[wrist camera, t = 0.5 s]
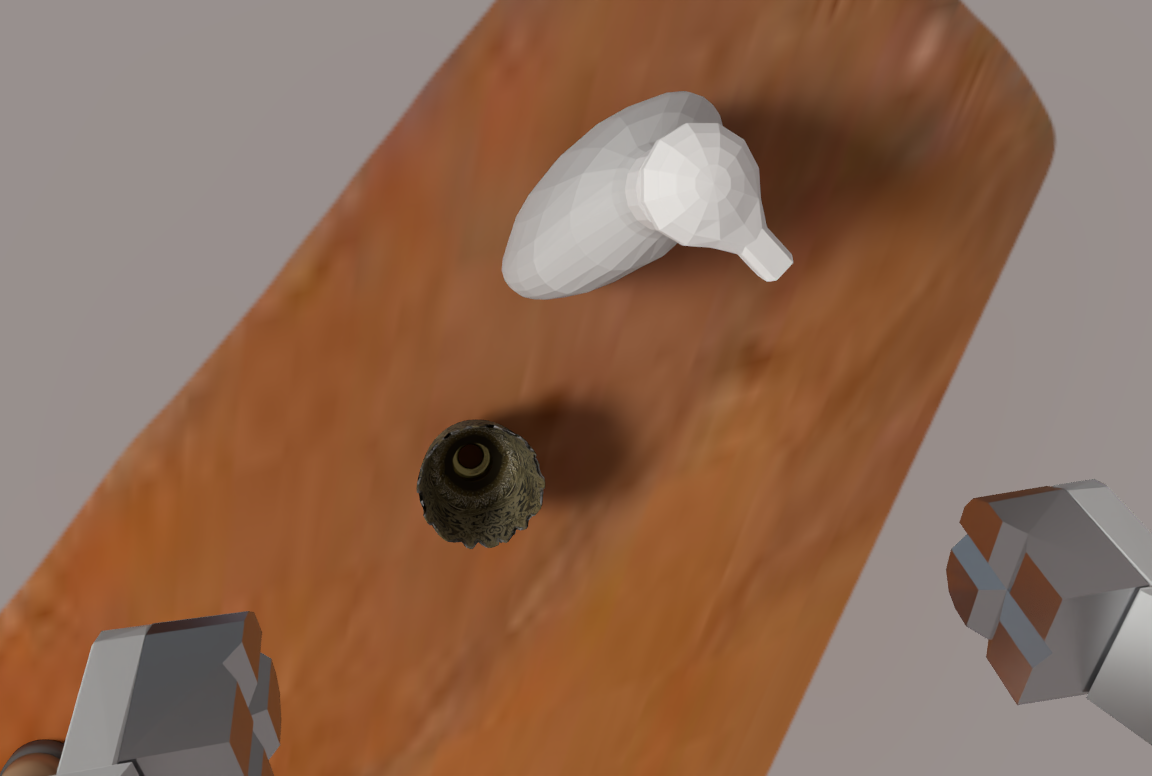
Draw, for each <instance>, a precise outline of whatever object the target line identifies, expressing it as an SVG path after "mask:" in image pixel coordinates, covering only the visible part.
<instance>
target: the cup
mask: <svg viewBox="0 0 1152 776" xmlns="http://www.w3.org/2000/svg"><path fill="white" fill-rule="evenodd" d="M468 444H473V445H476V446H478V447H479V448H480V449H481V450H482V453H483V459H482V462H481V463H480V464H479V465H478V466H477V467H475V468H466V467H464V466H462V465H461V464H460V462H459V459H458V454H459V451H460V450H461V448H462V447H464V446H465V445H468ZM536 456H537V455H536V453H535V451H534V450H533V449H532V448H531V447H530V446H529V444H528V443H527V441H526V440H525V439H523V438H522V437H521V436H519V435H517V434H515V433H514V432H512V431H511V430H509V429H507V428H506V427H504V426H502V425H500V424H497V423H494V422H491V421H487V420H467V421H462V422H459V423H456V424H454V425H452V426H450V427H449V428H447V429H446V430H444V431H443V432H442V433H441V434H440V435H438V436H437V438H436V439H435V440H434V441H433V443H432V444H431V445H430V447H429V449H428V451H427V453H426V455H425V458H424V460H423V463H422V466H421V469H420V473H419V477H418V482H417V493H419V497H420V502H421V504H422V507H423V510H424V514H423V516H424V518H425V520H426V521H427V523H428V524H429V525H432V526H433V527H434V529H435V531H436V532H437V533H438V535H439V536H440V537H442V538H443V539H444V540H445V541H448V542H462V543H463V544H464V546H466V547H467V548H469V549H473V548H474V547H475V545H476V544H477V543H478V542H479V543H480V544H481V545H483V546H485V547H488V548H492V547H495V546H497V545H499V542H500V543H502V542H505V543H507V542H508V541H509V540H510V539H511V537H512V536H513V535H514V534H515V532H516V529H518V530H525V529H527V527H528V521H529V519H530V518H531V517H532V516H535V515H536V514H537V512H538V511H539V510H540V509H541V506H542V500H543V489H544V488H545V479H544V476H542V474H541V472H540V468H539V463H538V461H537V459H536Z"/></svg>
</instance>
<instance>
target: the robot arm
mask: <svg viewBox="0 0 1152 776" xmlns="http://www.w3.org/2000/svg"><path fill="white" fill-rule="evenodd" d="M960 524H961V525H962V527H963V528H964V530H965V531H966V532H967V535H966V536H965V537H964V538H963V539H961V541H959V542H958V543H957V544H956V545H955V546H954V547H953V548H952V549H951V552H950V556H949V560H948V564H947V569H946V572H947V580H948V588H949V593H950V596H951V598H952V601H953V603H954V606H955V609H956V610H957V612H958V614H959V615H960V617H961V618H962V620H963V622H964V623H965V625H966V626H967V627H968V628H970V629H972V630H974V631H975V632H977V633H978V634H980V635H982V636H983V637H985V638H987V639H988V648H987V656H986V657H987V659H988V661H989V662H990V664H991V665H992V667H993V668H994V670H995V671H996V673H997V674H998V676H999V678H1000V679H1001V681H1002V682H1003V684H1004V685H1005V687H1006V688H1007V690H1008V691H1009V693H1010V695H1011V696H1012V698H1013V699H1014V701H1015V702H1016V704H1017V705H1020V704H1026V703H1033V702H1040V701H1046V700H1052V699H1059V698H1065V697H1072V696H1078V695H1084V694H1088V695H1087V697H1086V698H1087V699H1088V700H1090V701H1091V702H1092V703H1094V704H1095V705H1097V706H1098V707H1099V708H1101V709H1102V710H1103V711H1105V712H1106V713H1108V714H1109V715H1110V716H1112V717H1113V718H1115V719H1116V720H1117V721H1119V722H1120V723H1122V724H1123V725H1124V726H1126V727H1127V728H1128V729H1130V730H1131V731H1133V732H1134V733H1135V734H1137V735H1138V736H1140V737H1141V738H1143V739H1144V740H1145V741H1147V742H1148V743H1149V744H1151V745H1152V533H1151V532H1150V531H1149V530H1148V528H1147V527H1146V526H1145V525H1144V524H1143V523H1142V522H1141V521H1140V520H1139V519H1138V518H1137V517H1136V516H1135V515H1134V514H1133V512H1132V511H1131V510H1129V508H1128V507H1127V506H1126V505H1125V504H1124V503H1123V502H1122V501H1121V500H1120V499H1119V498H1118V496H1116V494H1115V493H1114V492H1113V491H1112V490H1111V489H1110V488H1109V487H1108V486H1107V485H1105V484H1104V483H1102V482H1100V481H1097V480H1095V479H1092V480H1085V481H1078V482H1073V483H1066V484H1060V485H1054V486H1051V487H1050V486H1045V487H1038V488H1032V489H1026V490H1020V491H1015V492H1009V493H1002V494H996V495H990V496H984V497H978V498H973V499H972V500H971V501H970V502H969V503H968V504H967V505H966V506H965V508H964V510H963V513H962V516H961V520H960ZM261 638H262V631H261V628H260V626H259V623H258V621H257V618H256V615H255V613H254V612H250V611H246V612H239V613H231V614H223V615H216V616H208V617H200V618H192V619H185V620H177V621H169V622H161V623H154V624H151V625H143V626H136V627H128V628H121V629H114V630H106V631H102V632H101V633H100V635H99V636H98V638H97V639H96V640H95V642H94V643H93V645H92V647H91V651H90V654H89V658H88V661H87V665H86V669H85V672H84V676H83V679H82V683H81V687H80V690H79V694H78V697H77V701H76V705H75V708H74V712H73V715H72V719H71V722H70V726H69V730H68V733H67V737H66V740H65V744H64V748H63V751H62V755H61V758H60V762H59V766H58V769H57V773H56V775H51V776H274V774H273V771H272V768H271V766H270V763H269V759H270V757H271V756H272V755H273V753H274V752H275V751H276V750H277V748H278V747H279V746H280V735H281V705H280V691H279V686H278V681H277V676H276V672H275V669H274V666H273V662H272V659H271V658H269V657H267V656H266V655H264V654H262V653H260V650H261Z"/></svg>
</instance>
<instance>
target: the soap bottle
mask: <svg viewBox="0 0 1152 776" xmlns="http://www.w3.org/2000/svg"><path fill="white" fill-rule="evenodd" d="M677 243H679V244H681V245H682V246H695V247H709V248H714V249H718V250H722V251H726V252H730V253H735V254H738V255H739V257H740V258H741V259H742V260H743V261H744V262H745V263H746V264H747V265H748V266H749V267H750V268H751V269H752V270H753V271H754V272H755V273H756V274H757V275H758V276H759V277H760V278H762V279H764V280H765V281H767V282H768V281H776V280H778V278H779V277H780V276H781V275H782V274H783V273H784V272H785V271H786V270H787V269H788V268H789V267H790V266H791V265H792V263H793V258H792V254H791V253H790V252H789V251H788V250H787V249H786V248H785V246H784V245H783V244H782V243H781V242H780V241H779V240H778V239H777V238H776V237H775V235H774V234H773V233H772V232H771V231H770V230H769V229H768V228H767V225H766V220H765V215H764V211H763V206H762V201H761V193H760V176H759V167H758V165H757V163H756V161H755V160H754V158H753V156H752V154H751V152H750V150H749V148H748V146H747V144H746V142H745V140H744V139H742V138H741V137H739V136H737V135H736V134H734V133H733V132H731V131H730V130H728V129H726V128H725V127H723V125H722V121H721V117H720V115H719V113H718V112H717V110H716V109H715V107H714V106H713V104H711V103H710V102H709V101H708V100H707V99H705V98H704V97H702V96H699V95H696V94H693V93H690V92H686V91H680V92H670V93H665V94H662V95H659V96H657V97H654V98H651V99H648V100H645V101H643V102H640V103H637V104H635V105H632V106H629V107H627V108H625V109H623V110H621V111H620V112H618V113H616V114H614V115H613V116H611V117H609V118H607V119H605V120H604V121H602V122H600V123H598V124H597V125H596V126H595V127H594V128H592V129H591V130H590V131H589V132H588V133H587V134H585V135H584V136H583V137H582V138H581V139H580V140H578V141H577V142H576V143H575V144H574V145H573V146H571V147H570V148H569V149H568V150H567V151H566V152H565V153H563V154H562V155H561V156H560V157H559V158H558V159H557V160H556V162H555V163H554V164H553V165H552V167H551V168H550V169H549V170H548V172H547V173H546V174H545V175H544V177H543V178H542V179H541V180H540V181H539V183H538V184H537V185H536V186H535V188H534V189H533V190H532V191H531V193H530V194H529V196H528V197H527V199H526V201H525V203H524V204H523V206H522V208H521V209H520V211H519V213H518V215H517V216H516V219H515V222H514V225H513V228H512V231H511V235H510V238H509V241H508V244H507V247H506V251H505V254H504V257H503V263H502V272H503V276H504V280H505V281H506V283H507V284H508V285H509V287H510V288H511V289H513V290H514V291H515V292H517V293H518V294H519V295H521V296H522V297H526V298H531V299H554V298H562V297H568V296H572V295H577V294H582V293H586V292H589V291H592V290H595V289H597V288H600V287H602V286H605V285H607V284H610V283H612V282H615V281H616V280H618V279H620V278H622V277H624V276H626V275H628V274H629V273H631V272H633V271H635V270H637V269H639V268H641V267H643V266H645V265H647V264H649V263H651V262H652V261H654V260H656V259H658V258H660V257H662V256H664V255H665V254H666V253H667V252H668V251H669V250H671V249H672V248H673V247H674V246H675V245H676V244H677Z"/></svg>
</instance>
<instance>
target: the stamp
mask: <svg viewBox="0 0 1152 776" xmlns="http://www.w3.org/2000/svg"><path fill="white" fill-rule="evenodd" d="M63 748H64V744H63V743H60V742H57V741H53V740H36V741H32V742H29V743H27V744H25V745H23V746H21V747H20V748H19V749H17V750H16V751H15V752H14V753H13V755H12V756H11V757H10V759H9V760H8V762H7V763H6V764H5V766H4V767H3V769H2V771H1V773H0V776H51V775H56V773H57V769H58V766H59V762H60V758H61V755H62V751H63Z"/></svg>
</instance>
